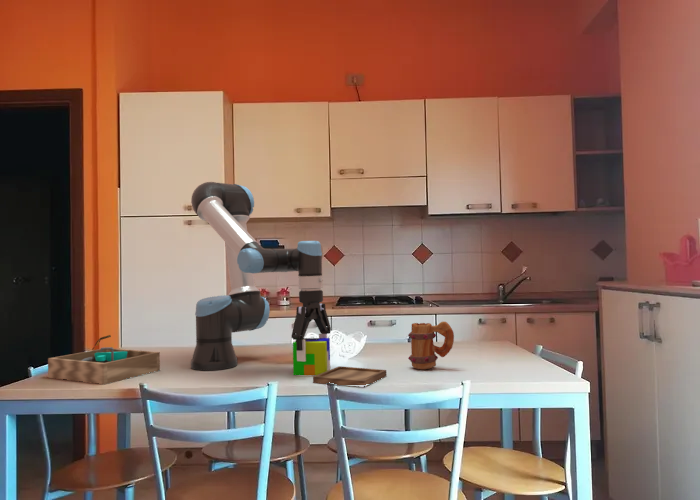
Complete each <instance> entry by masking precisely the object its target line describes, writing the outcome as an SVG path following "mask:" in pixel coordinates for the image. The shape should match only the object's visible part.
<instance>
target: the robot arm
mask: <svg viewBox="0 0 700 500" xmlns="http://www.w3.org/2000/svg"><path fill="white" fill-rule="evenodd" d="M254 199H255V198H254V196H253V193H252V192H251V190H250V189H249V188H248V187H246V186H245V185H241V184H240V185H239V184H237V183H224V182H223V183H222V182H215V181H205V182H203V183H201V184H199V185H198V186H197V187H196V188H195V189H194V191H193V193H192V194H191V202H190V203H191V207H192V209H193V211H194V213H195V214H196V215H197V216H198V218H200V220H202V221H205V222H207V223H208V224H209V225H210V226H211V228H212V229H213V230H214V231H215V232H216V233H217V235H218V236H219V237H221V239H222V240H223V241H224V247H225V253H226V261H227V268H228V276H229V277H228V278H229V283H230V284H229V285H230V292H229V293H228V294H227V295H225V294H224V295H217V296H215V295H214V296H209V297H204V298H202V299H199V300H198V301H197V303H196V304H195V305H196V306H195V314H194V315H195V335H196V336H195V337H196V339H195V347H194V351H193V354H192V359H191V360H190V367H191V370H195V371H221V370H226V369H230V368H231V369H232V368H234V367H236V366H238V357H237V355H236V352H235V349H234V345H233V341H232V340H233V339H232V335H233V334H232V333H240V332H247V331H249V332H251V331H255V330H259V329H261V328H263V327H264V326H265V325H266V324H267V321H268V320H269V317H270V313H271V311H270V304H269V301H268V300H267V299H266V298H265V297H264V296H261V290H260V289H259V288H258V287H257V286H256V284H255V276H254V274H261V273H262V274H263V273H288V272H290V273H291V272H298V289H299V291H298V298H299V299H298V301H299V303H301V304H302V306H297V307H296V310H295V311H296V312H295V313H296V314H295V318H294V322H293V328H292V332H291V339H293V340H295V341H296V349H297V361H304V362H305V361H306V346H305V340H304V338H305V336H306V333H307V330H308V328H309V325H310V322H312V321H313V320H314V323H315V325H316V327H317V329H318V331H319V333H318V338H328V335H329V334H331V330H332V328H331V327H332V326H331V323H330V321H329V315H328V313H327V310H326V309H327V307H326V303H322V302H323V301H324V292H323V290H322V289H323V281H324V280H323V263H322V262H323V253H322V244H321V242H320V241H319V240H301V241H298V242H297V247H295V248H264V247H263V246H261V245H260V244H259V242H258V241H257V240H256V239H255V238H254V236H252V235H251V234H250V233H249V232H248V227H247V223H248V221H249V220H250V217H251V215H252V214H253V212H254V208H255V200H254Z"/></svg>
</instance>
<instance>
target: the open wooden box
mask: <svg viewBox="0 0 700 500" xmlns="http://www.w3.org/2000/svg"><path fill="white" fill-rule="evenodd" d="M100 349H101V348H98V349H93V350H92V349H91V350H87V351H84V352H83V351H81V352H77V353H72V354H65V355H60V356H55V357H54V356H53V357H48V358H47V375H48V376H47V377H48V379H49V378H50V379H55V378H56V379H57V380H63V379H67V380H66V381H71V380H75V381H74V382H79V381H83V382H82V383H87V382H91V383H90V384H95V383H99V384H98V385H103V384H104V385H107V383H108V384H111V383H110V382H112V383H116V382H120V381H123V379H124V380H127V379H126V378H128V379H131V378H130V377H132V378H135V377H134V376H136V377H139V376H138V375H140V376H143V375H142V374H144V375H147V374H146V373H148V374H150V373H149V372H152V373H155V372H154V371H156V372H159V371H158V370H160V371H161V360H160V359H161V355H160V354H161V353H160V352H159V351H147V350H134V349H126V348H125V349H123V348H113V351H114V352H121V351H127V352H128V353H127V358H126V359H121V360H116V361H111V362H106V363H100V362H92V361H91V362H90V361H81V360H83V359H85V358H88V357H93V356H95V353H101V352H100ZM103 352H111V349H106V350H103ZM119 380H120V381H119ZM115 381H116V382H115Z"/></svg>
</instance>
